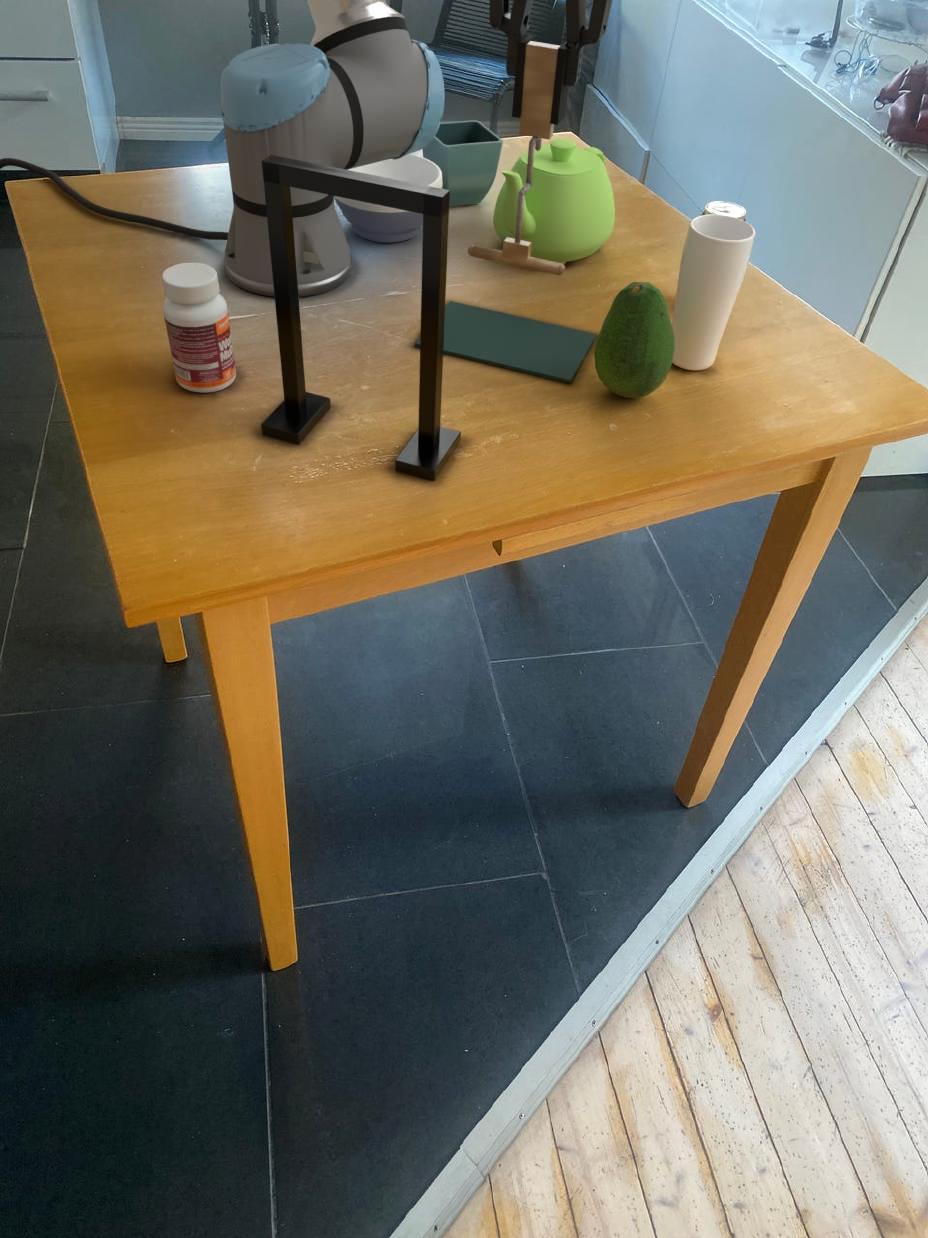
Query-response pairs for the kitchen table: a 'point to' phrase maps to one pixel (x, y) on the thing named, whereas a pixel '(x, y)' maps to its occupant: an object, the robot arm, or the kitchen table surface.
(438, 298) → the rack
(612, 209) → the teapot
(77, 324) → the kitchen table surface
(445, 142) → the flower pot
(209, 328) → the pill bottle
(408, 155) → the bowl
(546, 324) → the mat
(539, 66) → the hanger
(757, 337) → the kitchen table surface
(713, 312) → the drinking glass
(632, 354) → the fruit
